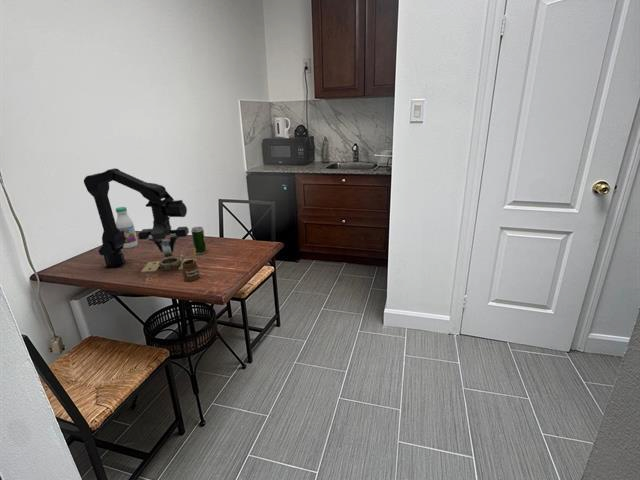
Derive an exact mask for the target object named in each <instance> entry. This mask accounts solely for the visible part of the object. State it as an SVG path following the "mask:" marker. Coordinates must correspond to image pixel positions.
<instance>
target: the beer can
mask: <svg viewBox="0 0 640 480" xmlns="http://www.w3.org/2000/svg"><path fill="white" fill-rule="evenodd" d="M205 237H206V236H205V231H204V227H203V226H194V227H192V228H191V238H192V243H193V250H194V249H195V248H196V255H202V254H203V255H204V254H206V253H207V251H208V250H207V245H206V238H205Z"/></svg>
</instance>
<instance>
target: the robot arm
mask: <svg viewBox="0 0 640 480" xmlns="http://www.w3.org/2000/svg"><path fill="white" fill-rule="evenodd" d="M112 181H113V182H116V183H118V184H120V185H122V186H125V187H127V188H129V189H131V190H134V191H136V192H138V193H140V195H141V196H142V198H144V199H146V200H147V201H148V202H147V203H146V204H145V207H147V208H148V207H149V208H151V212H152V217H153V223H152V225H153V226H152V228H143V229H142V230H141V231H139V232H138V236H137V237H138V240H147V239H148V240H149V241H150V242H151V241H152V242H153V243H154V244H155V245H156V246H157V248H158V250H159V251H160V252H161V253H162V254H163V252H162V247H161V244H160V241H161V240H165V239H166V237H167V236H170V237H169V239H170V241H171V249H172V252H173V253H174V251H175V247H176V243H177V240H178V238H184V237H187V236H188V234H189V233H190V231H189V230H190V229H189V227H188V226H178V227H177V228H176V229H172V225H171V224H170V223H171V221H170V220H171V218H184V217H186V216H187V212H188V208H187V205H186V204H185V202H183V199H177V200H174V198H173V197H172V196H171V195H170V193H169V192H168V191H167V189H166V187H165V186H163V185H162V184H157V183H151V182H148V181H147V182H146V181H144V180H141V179H139V178H137V177H135V176H132V175H130V174H129V173H125V172H124V171H121V170H120V169H119V168H117V167H115V168H111V169H106V170H104V172H99V173H98V172H97V173H94V174H90V175H86V176H85V177H84V179H83V184H84V186H85V188H86V190H87V192H88V193H89V194H90V195H91V196H92V197H93V200H94V201H95V202H94V203H95V205H96V210H97V213H98V216H99V219H100V223H101V225H102V229H103V232H102V236H101V241H102V246H101V247H100V248H99V249H98V254H99V255H100V256H103V259H104V261H105V262H104V263H105V266H104V269H110V268H120V267H122V266H123V265H124V264H125V263H126V262H127V261H126V260H125V254H124V253H123V251H122V250H123V249H124V248H123V246H124V244H125V240H126V238H125V235H124V231H120V230H119V229H118V228H117V227H116V220H115V217H114V213H113V210H112V209H113V208H112V206H111V202H110V199H109V190H110V182H112Z"/></svg>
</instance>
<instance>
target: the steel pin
mask: <svg viewBox="0 0 640 480" xmlns="http://www.w3.org/2000/svg"><path fill="white" fill-rule="evenodd" d="M160 244H161V247H162V252H163V253H162V252H161V253H162V257H164V258H170V257H172V256H174V251H173V252H172V249H171V241H170V238H165V239H161V241H160Z"/></svg>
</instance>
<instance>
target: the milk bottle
mask: <svg viewBox="0 0 640 480" xmlns="http://www.w3.org/2000/svg"><path fill="white" fill-rule="evenodd" d="M115 213H116V215H117V216H116V220H115V223H116V227H117V228H118V229H119V230H120V231H124V235H125V238H126V240H125V244H124V246H123V249H132V248H135V247H137V246H138V245H139V242H138V238H137V237H138V236H137V234H136V229H135V226H134V222H133V220H132V218H131V217H130V216H129V215H128V210H127V207H126V206H119V207H116V208H115Z"/></svg>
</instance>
